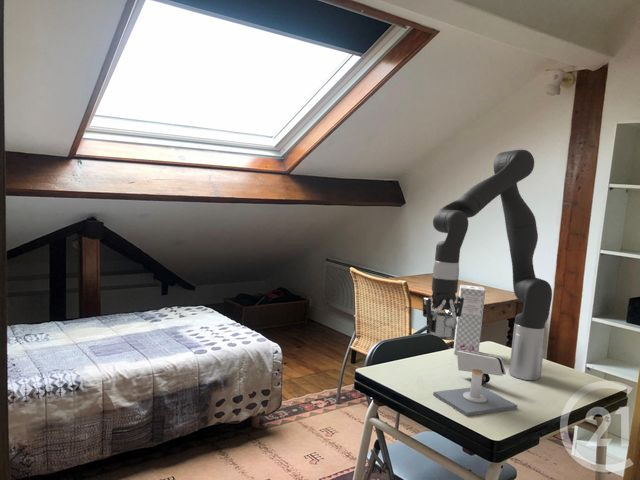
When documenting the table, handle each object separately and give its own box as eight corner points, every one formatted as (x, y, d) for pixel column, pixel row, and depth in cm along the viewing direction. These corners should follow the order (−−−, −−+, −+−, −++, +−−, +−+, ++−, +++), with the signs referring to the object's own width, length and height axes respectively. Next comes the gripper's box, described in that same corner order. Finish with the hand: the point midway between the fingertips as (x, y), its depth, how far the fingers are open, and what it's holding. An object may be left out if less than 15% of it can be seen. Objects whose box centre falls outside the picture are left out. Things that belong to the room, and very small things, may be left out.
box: (454, 354, 184) (461, 288, 181) (453, 347, 192) (460, 284, 190) (478, 357, 182) (485, 290, 180) (476, 351, 190) (483, 287, 188)
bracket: (458, 382, 159) (501, 388, 147) (455, 351, 159) (498, 355, 148) (465, 380, 161) (508, 386, 150) (463, 349, 162) (505, 353, 150)
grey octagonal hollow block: (442, 330, 154) (443, 310, 153) (459, 337, 147) (461, 317, 146) (425, 331, 151) (427, 311, 151) (443, 339, 144) (444, 318, 143)
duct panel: (481, 389, 150) (484, 360, 149) (516, 408, 137) (520, 377, 137) (433, 395, 142) (436, 364, 142) (466, 416, 130) (469, 383, 129)
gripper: (456, 274, 155) (451, 326, 156) (418, 274, 148) (413, 329, 150) (472, 278, 148) (467, 333, 149) (434, 278, 142) (429, 336, 143)
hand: (440, 330), depth 150 cm, fingers closed on grey octagonal hollow block, 6 cm apart
